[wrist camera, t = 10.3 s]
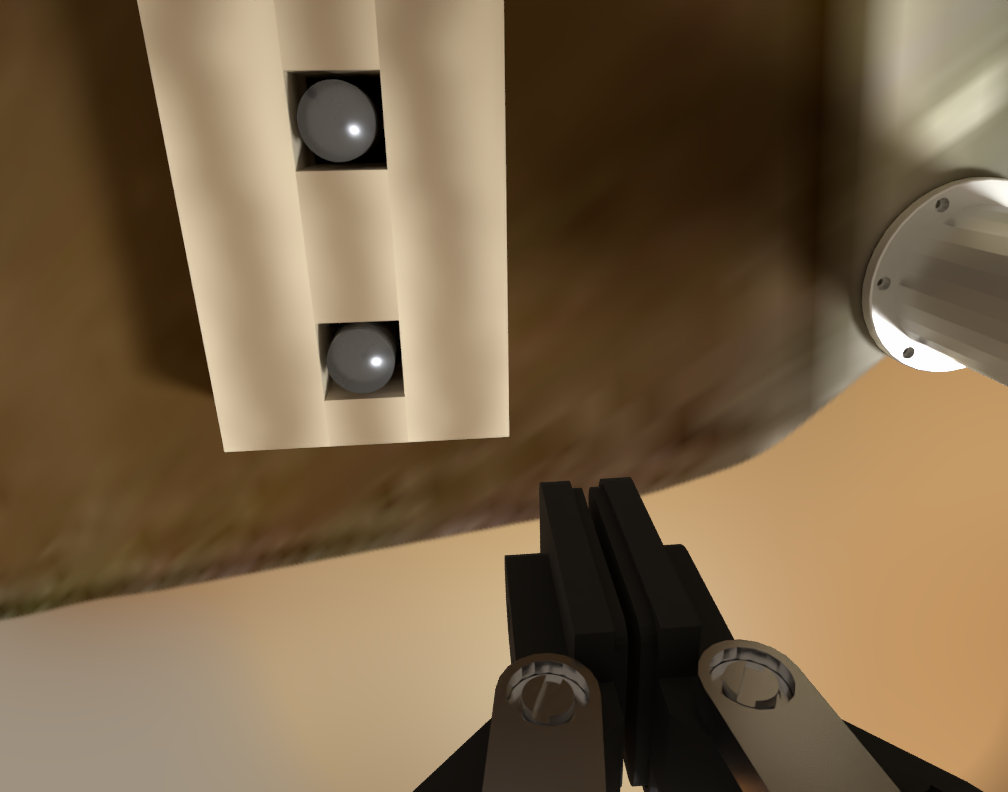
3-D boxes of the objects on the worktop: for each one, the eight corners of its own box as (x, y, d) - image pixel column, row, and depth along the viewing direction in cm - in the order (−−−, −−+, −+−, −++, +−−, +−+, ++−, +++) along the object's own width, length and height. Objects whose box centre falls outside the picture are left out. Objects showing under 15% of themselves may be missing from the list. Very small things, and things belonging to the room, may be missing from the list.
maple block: (493, 18, 36) (503, -1, 30) (499, 397, 44) (509, 436, 39) (184, 19, 35) (136, 0, 29) (251, 409, 43) (224, 452, 38)
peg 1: (380, 84, 36) (371, 78, 31) (385, 155, 37) (378, 161, 32) (312, 85, 36) (291, 79, 31) (320, 156, 37) (302, 162, 32)
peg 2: (397, 302, 41) (391, 328, 36) (401, 358, 42) (396, 391, 37) (336, 305, 40) (322, 331, 35) (343, 361, 42) (330, 395, 37)
